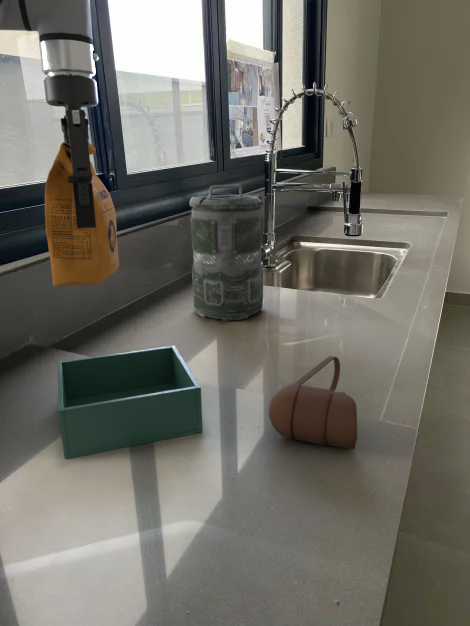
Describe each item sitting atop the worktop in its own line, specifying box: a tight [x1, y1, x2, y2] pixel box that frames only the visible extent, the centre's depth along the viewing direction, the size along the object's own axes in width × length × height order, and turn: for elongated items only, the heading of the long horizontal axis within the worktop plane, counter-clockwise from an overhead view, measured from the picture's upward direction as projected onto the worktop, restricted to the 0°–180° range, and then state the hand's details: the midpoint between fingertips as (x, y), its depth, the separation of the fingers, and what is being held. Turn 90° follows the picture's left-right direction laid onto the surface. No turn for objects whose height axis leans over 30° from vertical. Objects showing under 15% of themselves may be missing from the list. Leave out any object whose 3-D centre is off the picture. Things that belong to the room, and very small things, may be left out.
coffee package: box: [44, 141, 120, 287], centre depth 80 cm, size 10×12×22 cm
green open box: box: [56, 345, 204, 460], centre depth 68 cm, size 17×15×6 cm
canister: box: [189, 184, 264, 322], centre depth 109 cm, size 16×16×28 cm
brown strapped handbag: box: [268, 355, 358, 450], centre depth 67 cm, size 18×12×7 cm, turn 157°
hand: (84, 222), depth 81 cm, fingers closed on coffee package, 12 cm apart
